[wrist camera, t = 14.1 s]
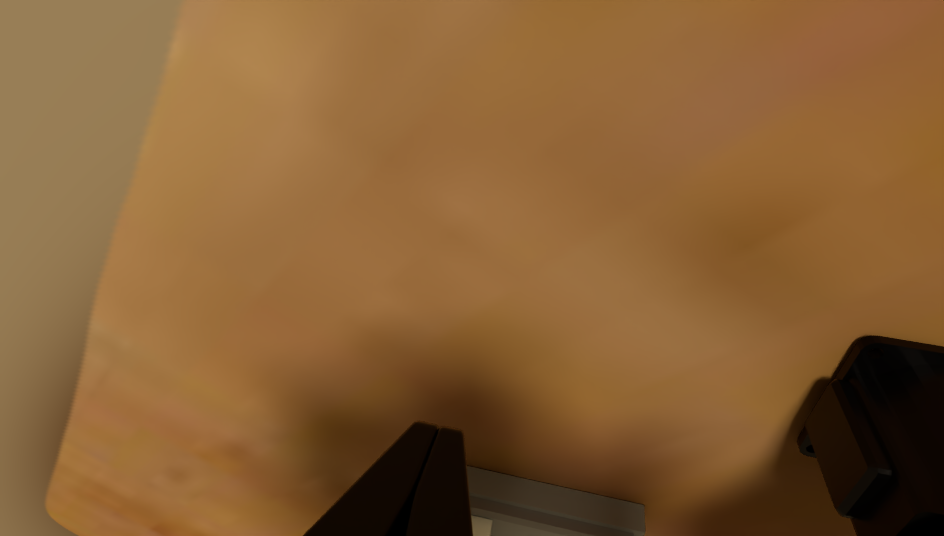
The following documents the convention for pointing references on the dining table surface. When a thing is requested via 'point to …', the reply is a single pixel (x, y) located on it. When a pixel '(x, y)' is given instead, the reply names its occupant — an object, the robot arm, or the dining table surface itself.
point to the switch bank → (548, 508)
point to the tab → (481, 526)
